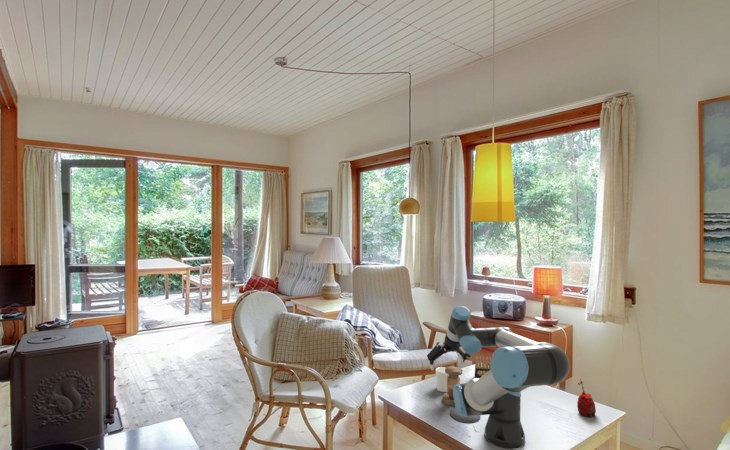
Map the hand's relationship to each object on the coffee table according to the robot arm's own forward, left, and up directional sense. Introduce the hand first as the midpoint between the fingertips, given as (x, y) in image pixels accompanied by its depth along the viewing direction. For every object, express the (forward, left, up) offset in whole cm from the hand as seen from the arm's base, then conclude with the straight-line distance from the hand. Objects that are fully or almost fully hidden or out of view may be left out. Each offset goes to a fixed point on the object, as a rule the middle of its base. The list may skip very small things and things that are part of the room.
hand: (445, 367), depth 179 cm
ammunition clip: (+25, -33, -18) cm, 45 cm away
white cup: (+15, -5, -18) cm, 24 cm away
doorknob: (+2, -5, -17) cm, 18 cm away
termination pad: (-11, -5, -17) cm, 21 cm away
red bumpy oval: (-19, -59, -18) cm, 64 cm away
